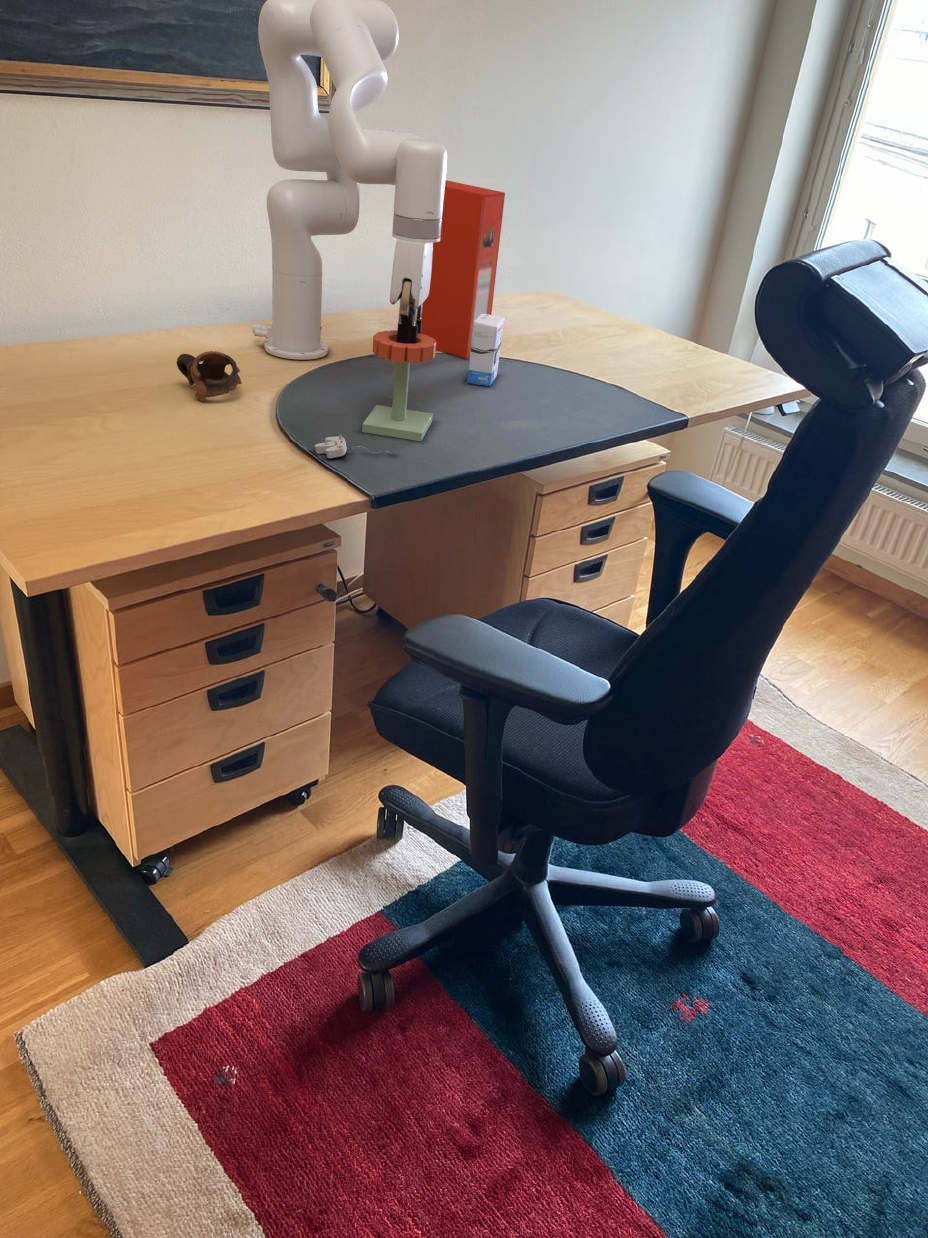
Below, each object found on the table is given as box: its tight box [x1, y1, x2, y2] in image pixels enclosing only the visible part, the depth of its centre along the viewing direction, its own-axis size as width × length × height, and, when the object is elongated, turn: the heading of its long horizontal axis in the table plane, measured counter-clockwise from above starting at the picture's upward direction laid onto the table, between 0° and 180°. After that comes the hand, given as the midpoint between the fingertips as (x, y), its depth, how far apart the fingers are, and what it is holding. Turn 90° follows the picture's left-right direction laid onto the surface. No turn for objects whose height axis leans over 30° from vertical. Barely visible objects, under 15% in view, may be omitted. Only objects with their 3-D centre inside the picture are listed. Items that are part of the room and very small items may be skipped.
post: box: [361, 361, 433, 442], centre depth 156 cm, size 10×10×12 cm
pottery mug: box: [176, 350, 243, 402], centre depth 162 cm, size 12×10×8 cm
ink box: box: [466, 314, 506, 388], centre depth 184 cm, size 8×5×12 cm, turn 168°
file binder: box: [421, 179, 506, 360], centre depth 196 cm, size 8×17×32 cm, turn 55°
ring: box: [372, 329, 437, 364], centre depth 153 cm, size 10×10×2 cm
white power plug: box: [314, 434, 393, 459], centre depth 147 cm, size 6×12×3 cm, turn 116°
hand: (408, 345), depth 156 cm, fingers closed on ring, 2 cm apart
